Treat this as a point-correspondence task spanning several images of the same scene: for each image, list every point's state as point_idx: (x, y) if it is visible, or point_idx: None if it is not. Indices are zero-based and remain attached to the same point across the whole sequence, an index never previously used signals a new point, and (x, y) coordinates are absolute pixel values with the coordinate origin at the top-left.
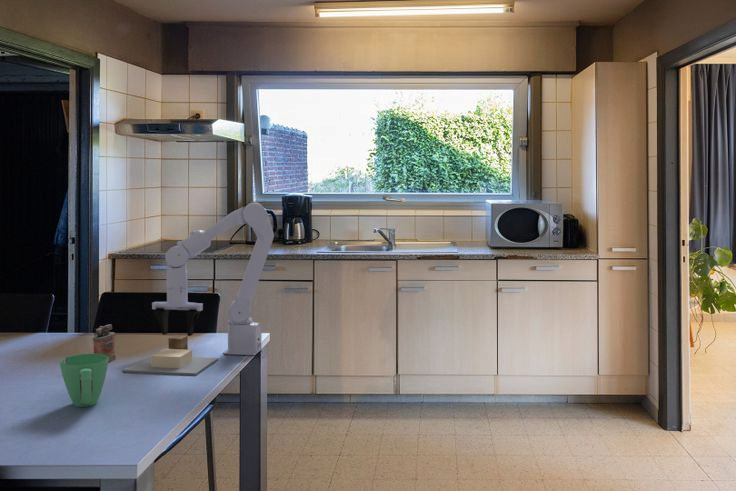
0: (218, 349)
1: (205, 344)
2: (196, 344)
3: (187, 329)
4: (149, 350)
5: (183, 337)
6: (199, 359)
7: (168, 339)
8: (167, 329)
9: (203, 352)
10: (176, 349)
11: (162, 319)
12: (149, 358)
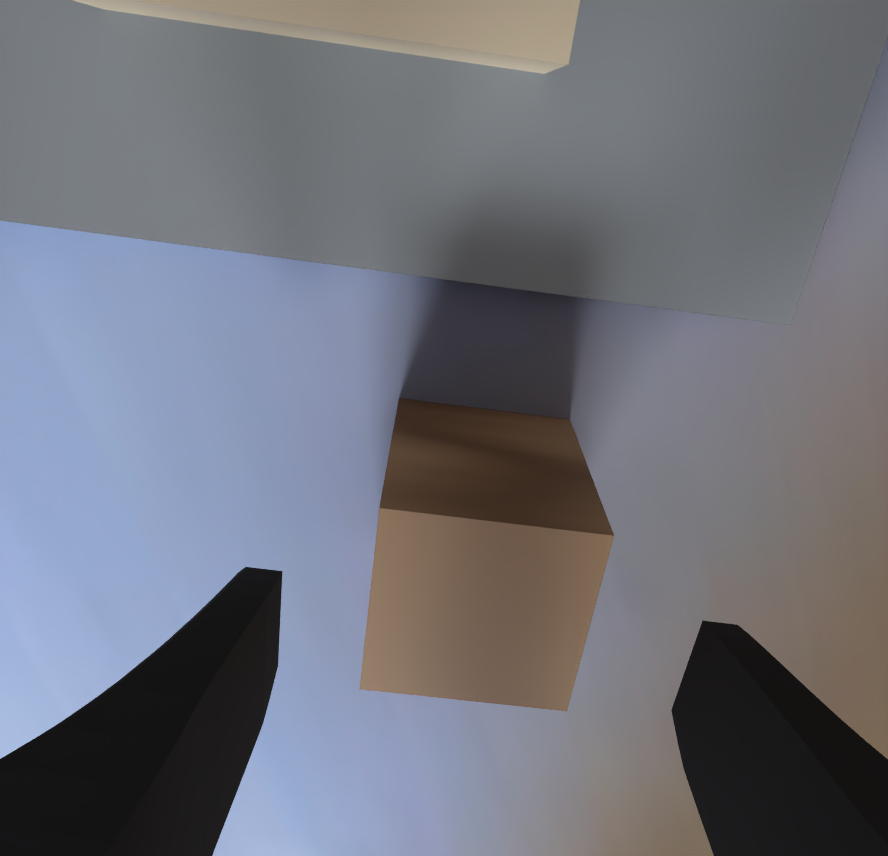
0: (97, 667)
1: (310, 825)
2: (398, 824)
3: (243, 626)
4: (835, 614)
5: (381, 591)
6: (29, 88)
7: (608, 525)
8: (692, 761)
9: (204, 551)
10: (321, 5)
11: (885, 850)
12: (779, 125)
